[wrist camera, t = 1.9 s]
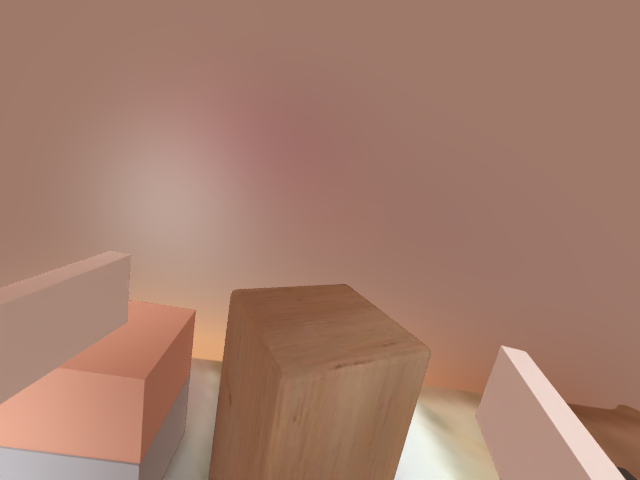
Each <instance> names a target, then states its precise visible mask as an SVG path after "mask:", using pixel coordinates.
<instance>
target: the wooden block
mask: <svg viewBox="0 0 640 480" xmlns="http://www.w3.org/2000/svg"><path fill="white" fill-rule="evenodd" d="M430 356H431V351H430V349H429V348H428V346H427V345H425V344H424V343H423V342H421V341H420V340H419V339H417V338H416V337H415V336H413V335H412V334H411V333H409V332H408V331H407V330H406V329H404V328H403V327H402V326H400V325H399V324H398V323H397V322H395V321H394V320H393V319H391V318H390V317H389V316H387V315H386V314H385V313H383V312H382V311H381V310H379V309H378V308H377V307H376V306H374V305H373V304H372V303H370V302H369V301H368V300H366V299H365V298H364V297H363V296H361V295H360V294H358V293H357V292H356V291H355V290H353V289H352V288H351V287H349V286H348V285H346V284H337V285H317V286H297V287H277V288H257V289H238V290H234V291H233V292H232V294H231V298H230V306H229V315H228V322H227V330H226V339H225V347H224V356H223V364H222V372H221V380H220V389H219V397H218V405H217V413H216V422H215V430H214V438H213V447H212V455H211V463H210V472H209V480H394V477H395V474H396V470H397V467H398V464H399V460H400V457H401V453H402V450H403V447H404V443H405V440H406V437H407V433H408V430H409V426H410V423H411V420H412V416H413V413H414V410H415V406H416V403H417V399H418V396H419V393H420V389H421V386H422V383H423V379H424V376H425V372H426V369H427V365H428V362H429V359H430Z"/></svg>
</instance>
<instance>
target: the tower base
mask: <svg viewBox="0 0 640 480" xmlns="http://www.w3.org/2000/svg"><path fill="white" fill-rule="evenodd" d="M189 378H190V375H189V376H188V378H187V380H186V382H185V383H184V385H183V387H182V389H181V391H180V392H179V394H178V396H177V398H176V400H175V402H174V403H173V405H172V407H171V409H170V411H169V412H168V414H167V416H166V418H165V420H164V421H163V423H162V425H161V427H160V429H159V430H158V432H157V434H156V436H155V438H154V440H153V441H152V443H151V445H150V447H149V449H148V450H147V452H146V454H145V456H144V458H143V459H142V461H141V463H140V464H138V463H130V462H122V461H114V460H106V459H98V458H90V457H82V456H74V455H66V454H58V453H50V452H42V451H34V450H26V449H18V448H10V447H2V446H0V480H162V479H163V477H164V475H165V473H166V470H167V468H168V466H169V464H170V462H171V460H172V458H173V455H174V453H175V451H176V449H177V447H178V445H179V442H180V440H181V438H182V436H183V434H184V431H185V421H186V410H187V399H188V389H189Z"/></svg>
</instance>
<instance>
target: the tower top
mask: <svg viewBox="0 0 640 480" xmlns="http://www.w3.org/2000/svg"><path fill="white" fill-rule="evenodd" d="M195 313H196V310H192V309H185V308H178V307H172V306H165V305H159V304H153V303H146V302H139V301H133V300H128V320H127V323H126V324H124V325H123V326H121V327H119V328H118V329H116V330H115V331H113V332H112V333H110V334H109V335H107V336H105V337H104V338H102V339H101V340H99V341H98V342H96V343H95V344H93V345H92V346H90V347H88V348H87V349H85V350H84V351H82V352H81V353H79V354H78V355H76V356H75V357H73V358H71V359H70V360H68V361H67V362H65V363H64V364H62V365H61V366H59V367H58V368H56V369H54V370H53V371H51V372H50V373H48V374H47V375H45V376H44V377H42V378H41V379H39V380H37V381H36V382H34V383H33V384H31V385H30V386H28V387H27V388H25V389H24V390H22V391H20V392H19V393H17V394H16V395H14V396H13V397H11V398H10V399H8V400H7V401H5V402H3V403H2V404H0V446H2V447H10V448H18V449H26V450H34V451H42V452H50V453H58V454H66V455H74V456H82V457H90V458H98V459H106V460H114V461H122V462H130V463H138V464H140V463H141V461H142V459H143V458H144V456H145V454H146V452H147V450H148V449H149V447H150V445H151V443H152V441H153V440H154V438H155V436H156V434H157V432H158V430H159V429H160V427H161V425H162V423H163V421H164V420H165V418H166V416H167V414H168V412H169V411H170V409H171V407H172V405H173V403H174V402H175V400H176V398H177V396H178V394H179V392H180V391H181V389H182V387H183V385H184V383H185V382H186V380H187V378H188V376H189V374H190V366H191V355H192V345H193V334H194V323H195Z"/></svg>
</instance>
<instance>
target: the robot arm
mask: <svg viewBox="0 0 640 480" xmlns="http://www.w3.org/2000/svg"><path fill="white" fill-rule="evenodd" d="M130 259H131V255H129V254H125V253H121V252H116V251H113V250H112V251H108V252H105V253H102V254H99V255H97V256H93V257H90V258H87V259H85V260H82V261H79V262H76V263H73V264H70V265H67V266H64V267H61V268H58V269H55V270H52V271H49V272H46V273H43V274H40V275H37V276H34V277H31V278H28V279H25V280H22V281H19V282H16V283H13V284H11V285H7V286H4V287H2V288H0V404H2V403H3V402H5V401H7V400H8V399H10V398H11V397H13V396H14V395H16V394H17V393H19V392H20V391H22V390H24V389H25V388H27V387H28V386H30V385H31V384H33V383H34V382H36V381H37V380H39V379H41V378H42V377H44V376H45V375H47V374H48V373H50V372H51V371H53V370H54V369H56V368H58V367H59V366H61V365H62V364H64V363H65V362H67V361H68V360H70V359H71V358H73V357H75V356H76V355H78V354H79V353H81V352H82V351H84V350H85V349H87V348H88V347H90V346H92V345H93V344H95V343H96V342H98V341H99V340H101V339H102V338H104V337H105V336H107V335H109V334H110V333H112V332H113V331H115V330H116V329H118V328H119V327H121V326H123V325H124V324H126V323H127V320H128V300H129V280H130ZM476 418H477V421H478V423H479V426H480V429H481V431H482V434H483V436H484V439H485V442H486V444H487V447H488V449H489V452H490V454H491V457H492V460H493V462H494V465H495V467H496V470H497V473H498V475H499V478H500V480H637V479H636V478H635V477H633V476H632V475H631V474H630V473H629V472H628V471H627V470H625V469H623V468H619V467H616V466H615V465H614V464H613V463H612V461H611V460H610V459H609V458H608V456H607V455H606V454H605V452H604V451H603V450H602V449H601V447H600V446H599V445H598V443H597V442H596V441H595V440H594V438H593V437H592V436H591V434H590V433H589V432H588V431H587V429H586V428H585V427H584V426H583V424H582V423H581V422H580V420H579V419H578V418H577V417H576V415H575V414H574V413H573V411H572V410H571V409H570V408H569V406H568V405H567V404H566V402H565V401H564V400H563V399H562V397H561V396H560V395H559V394H558V393H557V391H556V390H555V388H554V387H553V386H552V385H551V383H550V382H549V381H548V380H547V378H546V377H545V376H544V374H543V373H542V372H541V370H540V369H539V368H538V367H537V365H536V364H535V363H534V362H533V360H532V359H531V358H530V357H529V355H528V354H527V353H526V352H525V351H522V350H518V349H513V348H509V347H505V346H501V347H500V350H499V352H498V355H497V358H496V361H495V364H494V366H493V369H492V372H491V375H490V377H489V380H488V383H487V386H486V389H485V391H484V394H483V397H482V400H481V402H480V405H479V408H478V411H477V413H476Z"/></svg>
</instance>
